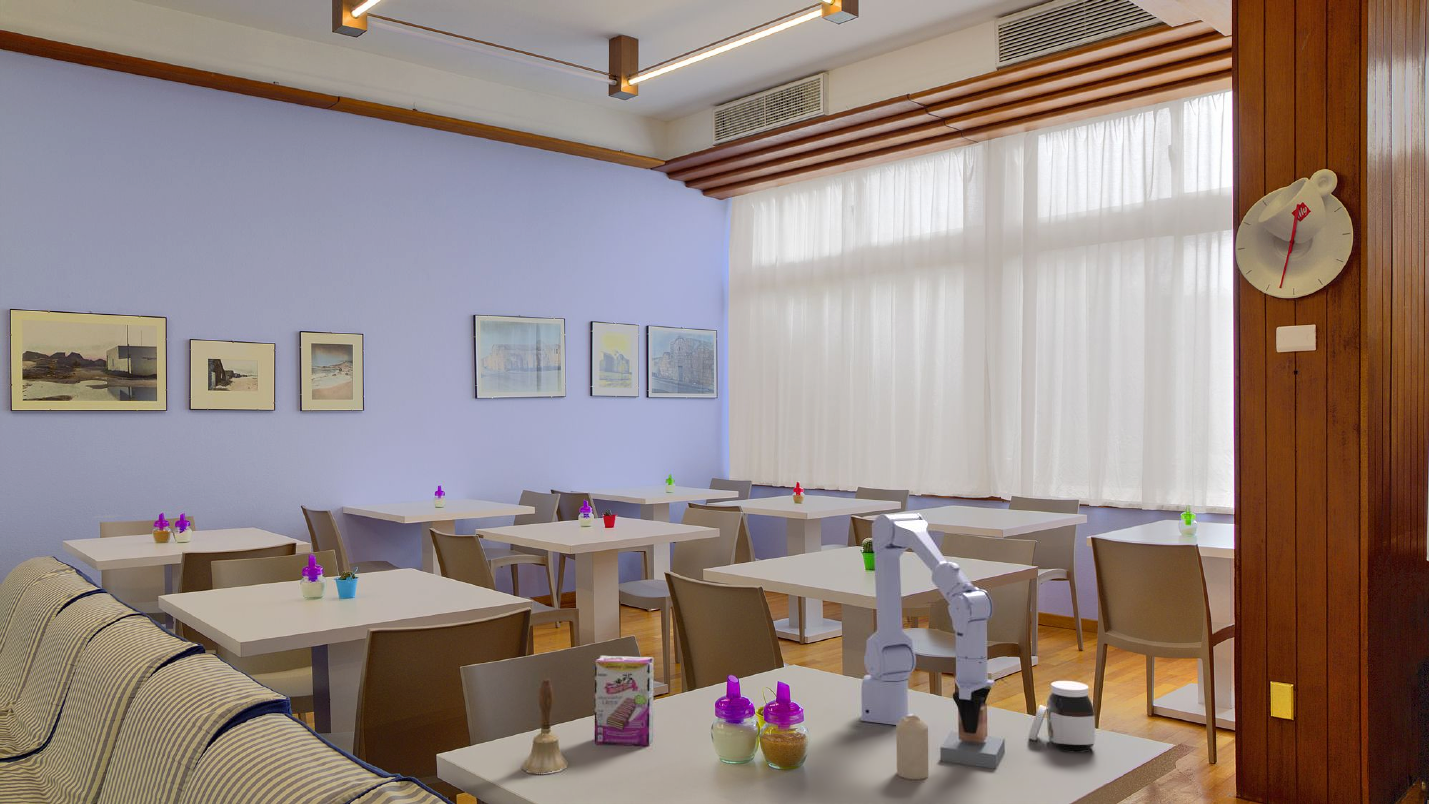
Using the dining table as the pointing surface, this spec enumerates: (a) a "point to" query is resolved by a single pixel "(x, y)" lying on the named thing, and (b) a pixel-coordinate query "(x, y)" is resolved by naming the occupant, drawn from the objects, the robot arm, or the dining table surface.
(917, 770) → the candle
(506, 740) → the dining table surface
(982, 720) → the block
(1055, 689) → the spread jar
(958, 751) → the base
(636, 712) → the candy bar box
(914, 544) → the robot arm
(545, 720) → the hand bell
